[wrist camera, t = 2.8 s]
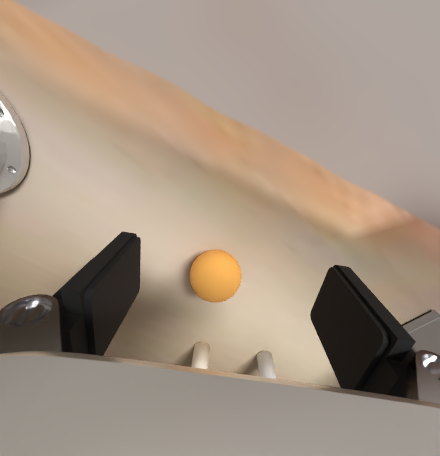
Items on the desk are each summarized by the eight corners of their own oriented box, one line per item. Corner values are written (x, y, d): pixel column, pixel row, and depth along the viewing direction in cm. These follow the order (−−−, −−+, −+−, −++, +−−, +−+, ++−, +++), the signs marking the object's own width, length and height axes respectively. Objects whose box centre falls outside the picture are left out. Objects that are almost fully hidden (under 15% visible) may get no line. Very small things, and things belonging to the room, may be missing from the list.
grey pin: (258, 349, 35) (267, 412, 27) (273, 351, 35) (286, 414, 27) (255, 360, 36) (262, 423, 28) (269, 362, 36) (281, 425, 28)
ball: (196, 237, 28) (188, 264, 22) (244, 244, 28) (248, 272, 22) (191, 277, 30) (183, 310, 24) (235, 283, 30) (237, 317, 25)
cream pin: (195, 341, 35) (185, 402, 27) (210, 343, 35) (205, 404, 27) (193, 351, 36) (184, 413, 28) (208, 353, 36) (203, 415, 28)
